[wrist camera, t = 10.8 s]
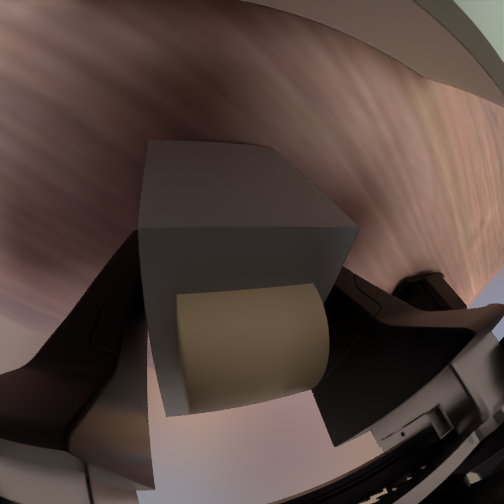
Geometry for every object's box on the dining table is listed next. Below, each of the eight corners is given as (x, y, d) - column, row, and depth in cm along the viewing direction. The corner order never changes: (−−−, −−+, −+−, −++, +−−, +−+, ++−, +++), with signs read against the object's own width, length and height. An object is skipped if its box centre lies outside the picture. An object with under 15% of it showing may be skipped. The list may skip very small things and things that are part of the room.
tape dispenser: (234, 309, 13) (281, 435, 9) (153, 316, 12) (174, 455, 7) (270, 146, 9) (410, 282, 4) (148, 140, 7) (135, 314, 3)
